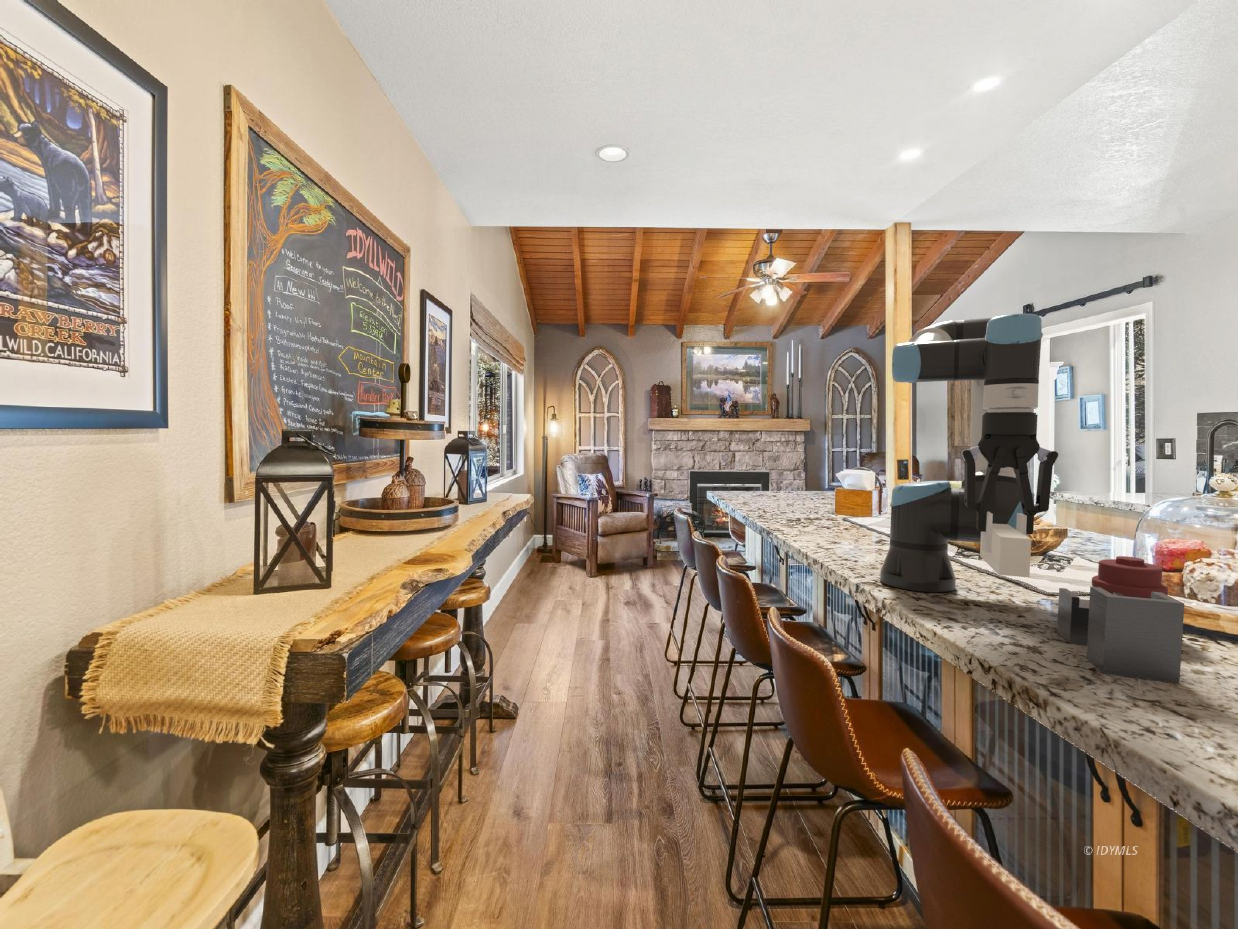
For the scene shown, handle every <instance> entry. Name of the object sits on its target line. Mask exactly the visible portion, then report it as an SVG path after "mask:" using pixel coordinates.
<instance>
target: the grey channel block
mask: <svg viewBox="0 0 1238 929" xmlns="http://www.w3.org/2000/svg"><path fill="white" fill-rule="evenodd" d="M1113 595H1115V596H1124V595H1123V594H1121V593H1113ZM1089 601H1090V599H1084V598H1083V599H1082V598H1080V597H1079V596H1078V595H1076V594H1075V593H1074V592H1072V591H1071V590H1069V589H1067V588H1065V587H1058V606H1057V623H1056V624H1057V627H1056V629H1057V630H1056V632H1057V633H1058V634H1059V635H1060V636H1061V637H1062V638H1063V639H1064V640H1066V642H1068V643H1069V644H1072V645H1073V644H1075V645H1083V646H1087V639H1088V620H1089Z"/></svg>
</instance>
